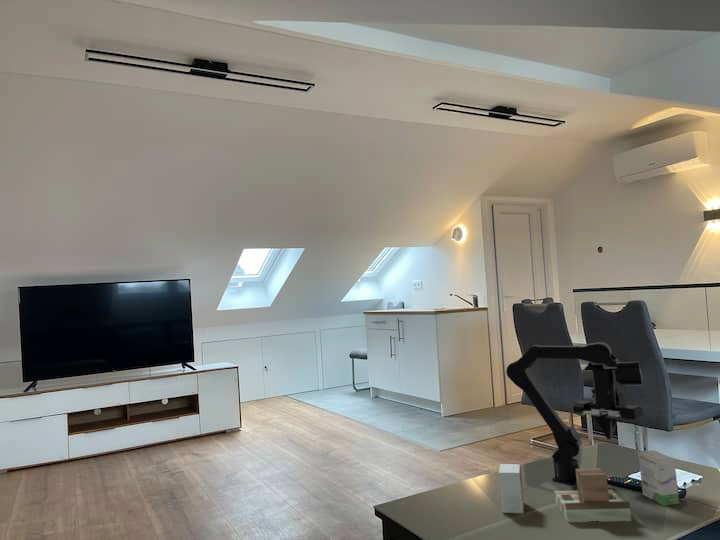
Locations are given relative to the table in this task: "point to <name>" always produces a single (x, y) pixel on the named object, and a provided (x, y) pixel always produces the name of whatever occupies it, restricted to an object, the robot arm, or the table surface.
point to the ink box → (658, 477)
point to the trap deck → (592, 508)
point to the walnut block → (592, 485)
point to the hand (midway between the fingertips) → (609, 439)
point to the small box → (511, 488)
